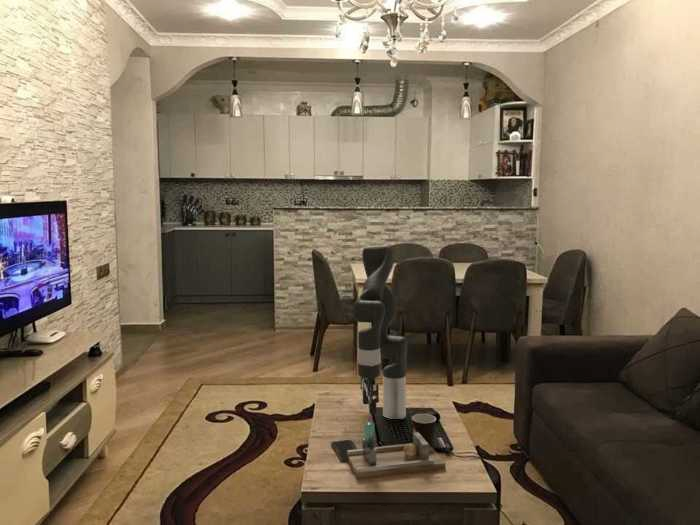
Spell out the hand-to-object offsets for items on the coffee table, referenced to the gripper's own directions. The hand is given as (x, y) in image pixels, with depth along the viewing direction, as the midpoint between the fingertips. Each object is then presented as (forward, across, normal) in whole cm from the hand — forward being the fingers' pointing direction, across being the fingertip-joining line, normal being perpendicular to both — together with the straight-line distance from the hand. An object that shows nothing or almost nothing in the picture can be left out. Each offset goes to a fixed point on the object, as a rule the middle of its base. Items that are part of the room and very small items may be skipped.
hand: (369, 408), depth 197 cm
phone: (+21, -13, -5) cm, 25 cm away
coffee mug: (+21, -13, +24) cm, 34 cm away
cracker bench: (+20, 0, +9) cm, 22 cm away
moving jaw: (+18, 0, 0) cm, 18 cm away
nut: (+18, 0, +14) cm, 23 cm away
